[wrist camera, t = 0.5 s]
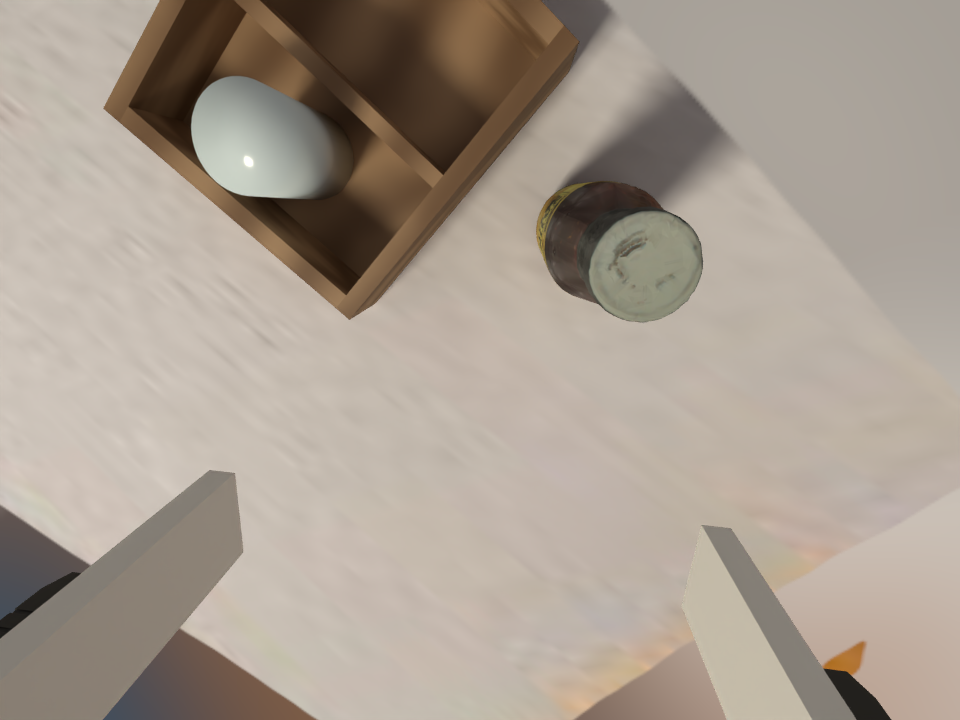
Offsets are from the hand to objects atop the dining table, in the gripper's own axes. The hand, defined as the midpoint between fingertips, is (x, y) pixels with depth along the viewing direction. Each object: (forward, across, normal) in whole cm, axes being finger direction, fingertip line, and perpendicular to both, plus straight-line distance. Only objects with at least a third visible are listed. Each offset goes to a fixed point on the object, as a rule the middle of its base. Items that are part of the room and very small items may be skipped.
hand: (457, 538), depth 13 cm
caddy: (+26, -12, +16) cm, 32 cm away
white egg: (+25, -15, +12) cm, 31 cm away
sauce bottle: (+26, +5, +8) cm, 28 cm away
